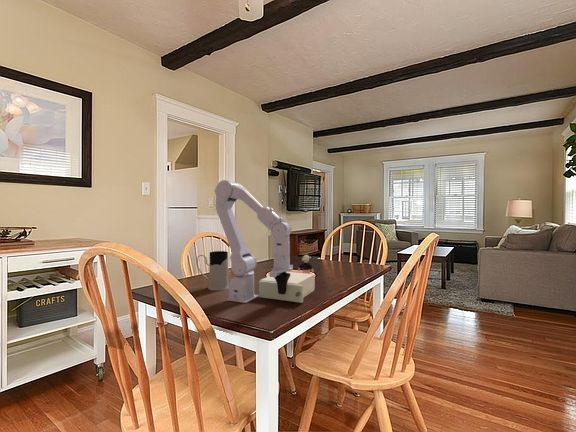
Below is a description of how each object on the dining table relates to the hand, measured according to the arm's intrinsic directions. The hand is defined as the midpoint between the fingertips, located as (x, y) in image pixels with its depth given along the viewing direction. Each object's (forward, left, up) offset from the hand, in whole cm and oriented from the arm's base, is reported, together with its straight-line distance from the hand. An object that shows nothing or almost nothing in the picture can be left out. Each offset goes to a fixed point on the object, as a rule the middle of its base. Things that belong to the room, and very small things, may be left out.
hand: (282, 293), depth 113 cm
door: (+1, +1, -3) cm, 3 cm away
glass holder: (+6, +36, -3) cm, 36 cm away
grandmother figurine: (+29, +3, -3) cm, 30 cm away
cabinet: (+11, +3, -3) cm, 12 cm away
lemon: (+38, +17, -3) cm, 42 cm away
